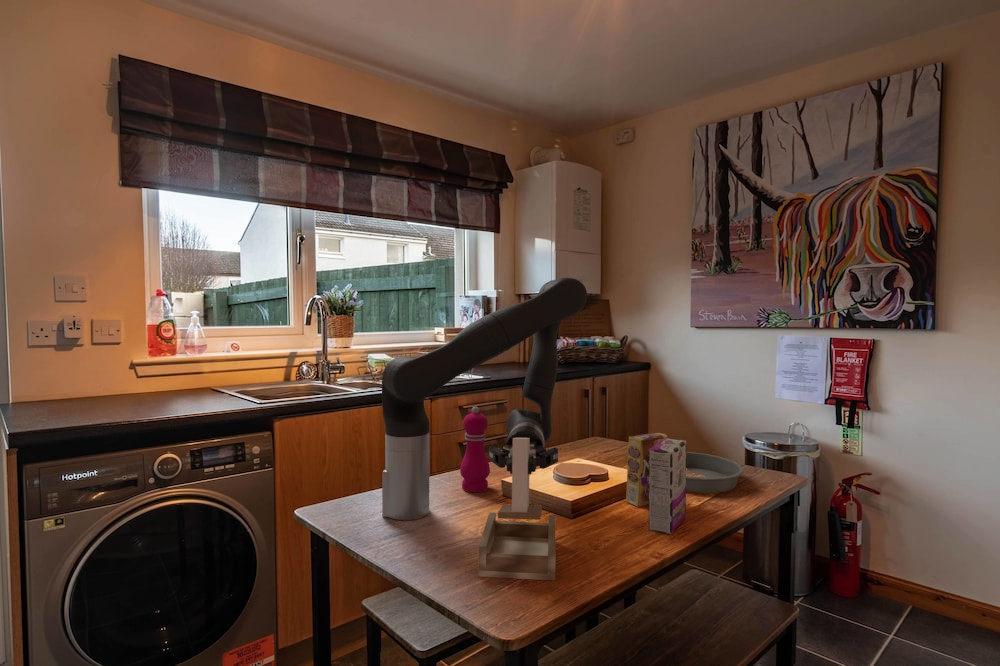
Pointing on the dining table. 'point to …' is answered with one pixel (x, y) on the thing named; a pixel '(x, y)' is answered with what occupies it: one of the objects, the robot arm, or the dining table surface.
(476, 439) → the pepper mill
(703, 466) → the cake pan
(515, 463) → the place card sign
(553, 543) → the brown wooden tray
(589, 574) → the dining table surface
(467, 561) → the dining table surface
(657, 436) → the candy box
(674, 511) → the candy bar box
